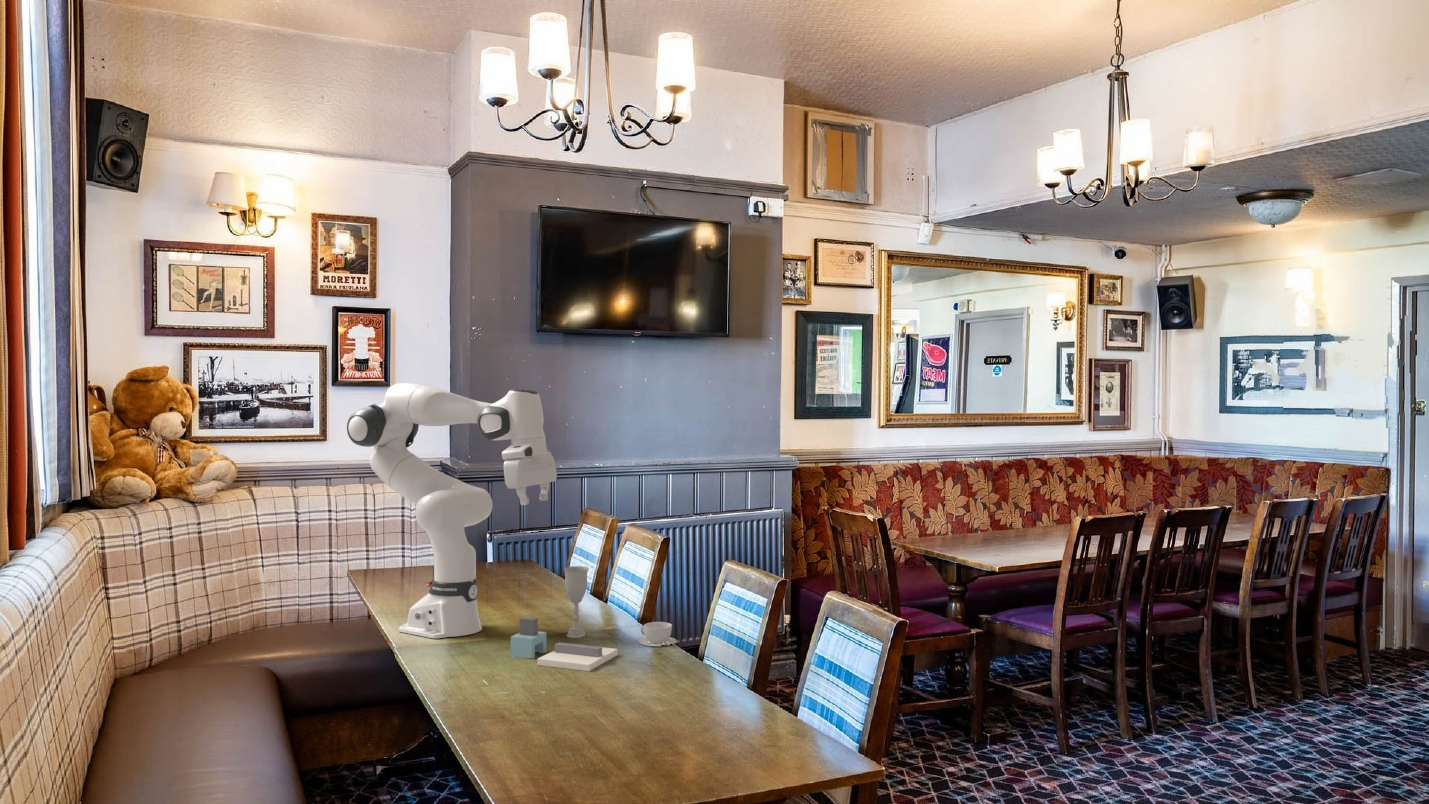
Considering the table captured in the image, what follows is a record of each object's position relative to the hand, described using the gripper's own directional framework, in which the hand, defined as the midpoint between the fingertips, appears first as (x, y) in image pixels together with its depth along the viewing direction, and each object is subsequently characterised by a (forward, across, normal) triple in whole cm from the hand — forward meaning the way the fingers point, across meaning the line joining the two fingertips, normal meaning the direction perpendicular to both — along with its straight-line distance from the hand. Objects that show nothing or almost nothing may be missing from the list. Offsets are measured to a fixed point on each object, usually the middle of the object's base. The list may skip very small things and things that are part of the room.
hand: (534, 502), depth 254 cm
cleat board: (+38, +11, +14) cm, 42 cm away
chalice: (+37, -10, +3) cm, 39 cm away
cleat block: (+37, +10, 0) cm, 38 cm away
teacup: (+40, -12, +26) cm, 49 cm away
